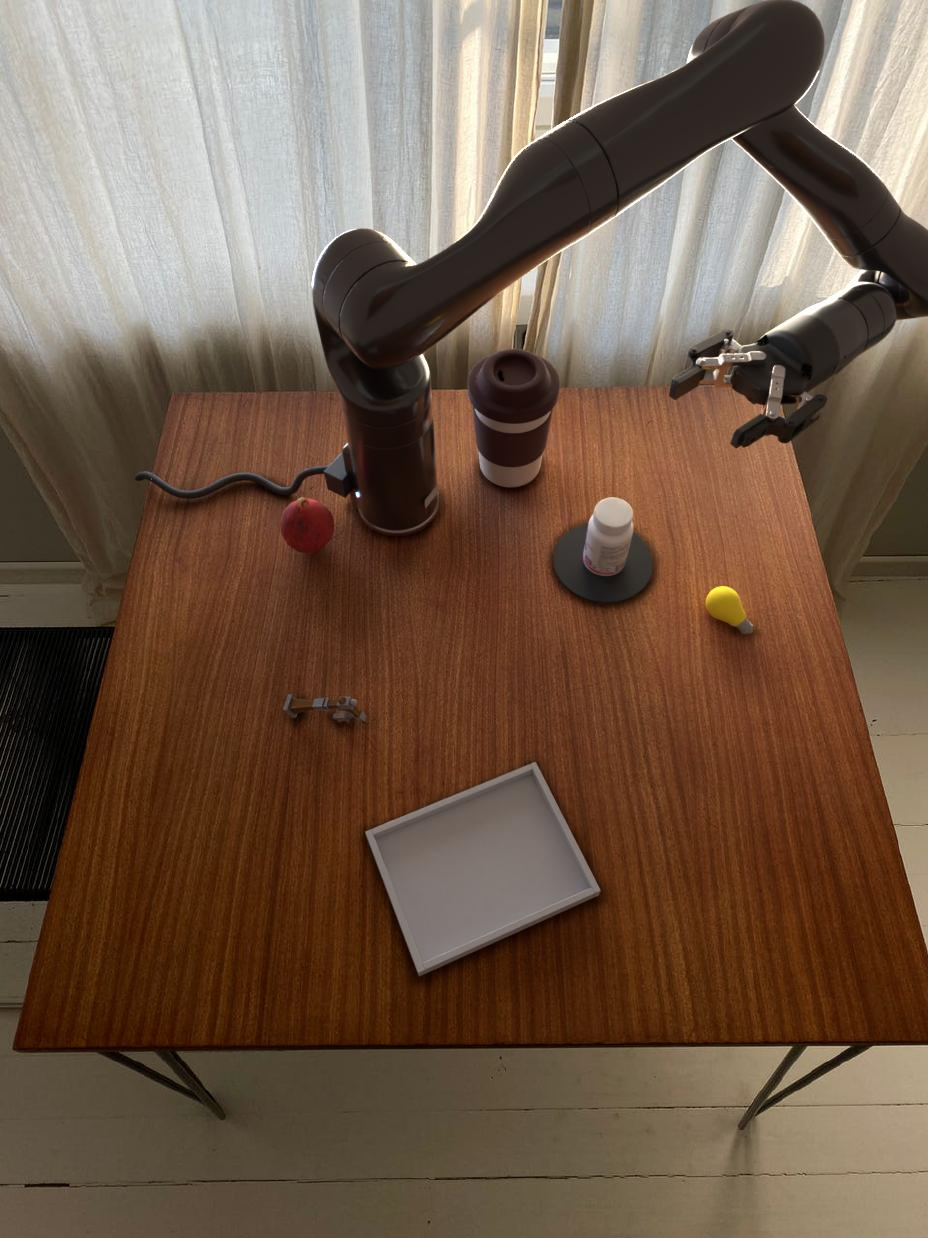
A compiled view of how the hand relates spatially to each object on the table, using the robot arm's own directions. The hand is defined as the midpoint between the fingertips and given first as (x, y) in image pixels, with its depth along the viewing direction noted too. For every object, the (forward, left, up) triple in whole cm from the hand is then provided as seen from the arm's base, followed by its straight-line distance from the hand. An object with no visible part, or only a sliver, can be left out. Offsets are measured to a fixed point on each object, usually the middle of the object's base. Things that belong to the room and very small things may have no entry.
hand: (703, 415), depth 87 cm
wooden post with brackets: (-19, -41, -16) cm, 48 cm away
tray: (+2, -46, -16) cm, 49 cm away
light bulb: (+12, -9, -14) cm, 20 cm away
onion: (-33, -25, -16) cm, 44 cm away
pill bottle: (-4, -10, -16) cm, 19 cm away
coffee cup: (-20, -3, -16) cm, 26 cm away
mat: (-4, -10, -16) cm, 19 cm away
